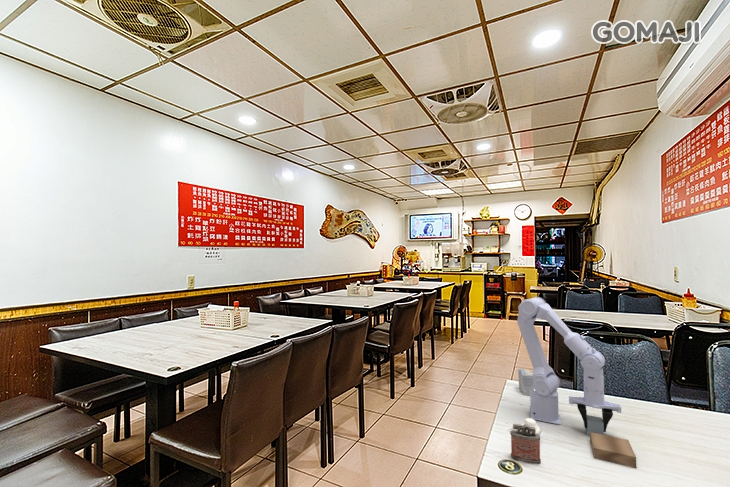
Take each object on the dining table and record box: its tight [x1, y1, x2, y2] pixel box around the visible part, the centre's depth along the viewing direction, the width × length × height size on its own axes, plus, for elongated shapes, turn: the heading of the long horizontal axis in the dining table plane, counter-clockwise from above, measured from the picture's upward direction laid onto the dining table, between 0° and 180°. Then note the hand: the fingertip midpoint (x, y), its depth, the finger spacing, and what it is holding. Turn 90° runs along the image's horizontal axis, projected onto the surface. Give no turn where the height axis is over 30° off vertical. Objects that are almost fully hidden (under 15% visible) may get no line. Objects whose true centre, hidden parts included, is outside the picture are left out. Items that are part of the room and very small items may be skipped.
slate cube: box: [585, 414, 605, 437], centre depth 113 cm, size 4×4×5 cm
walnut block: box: [589, 432, 637, 469], centre depth 102 cm, size 10×10×3 cm
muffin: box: [520, 417, 542, 436], centre depth 110 cm, size 6×6×7 cm
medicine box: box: [518, 368, 535, 396], centre depth 147 cm, size 8×4×9 cm, turn 168°
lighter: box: [509, 423, 542, 465], centre depth 100 cm, size 8×3×10 cm, turn 71°
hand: (594, 429), depth 113 cm, fingers closed on slate cube, 4 cm apart
